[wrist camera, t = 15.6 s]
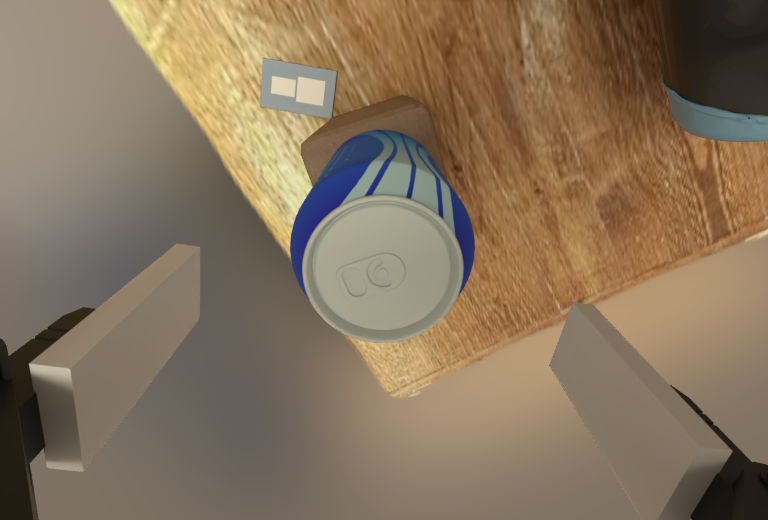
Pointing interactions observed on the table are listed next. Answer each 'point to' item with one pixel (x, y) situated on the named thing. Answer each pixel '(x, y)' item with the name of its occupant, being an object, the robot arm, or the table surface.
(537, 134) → the table surface
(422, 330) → the beer can
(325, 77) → the card
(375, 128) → the block
